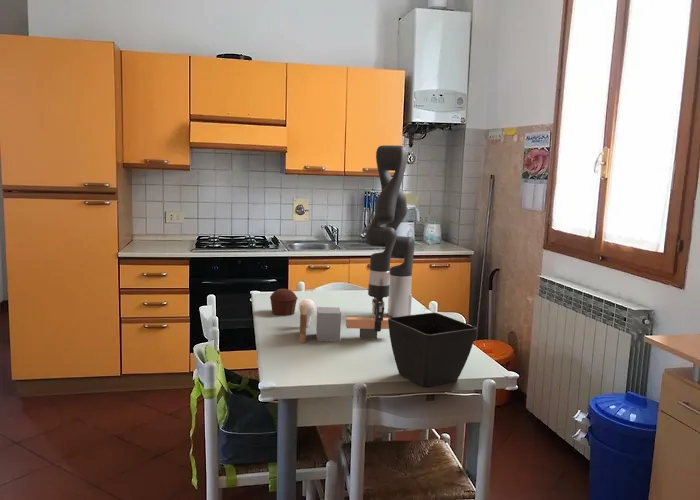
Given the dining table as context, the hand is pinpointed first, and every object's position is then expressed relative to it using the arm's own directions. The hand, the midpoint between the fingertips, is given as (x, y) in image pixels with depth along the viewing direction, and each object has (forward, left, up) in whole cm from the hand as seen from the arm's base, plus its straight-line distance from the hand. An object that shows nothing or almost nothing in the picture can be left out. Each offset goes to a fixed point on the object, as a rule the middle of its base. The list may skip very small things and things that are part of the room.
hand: (376, 329), depth 212 cm
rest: (+3, 0, -3) cm, 4 cm away
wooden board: (+27, 0, -3) cm, 27 cm away
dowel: (+3, 0, +1) cm, 3 cm away
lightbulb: (+25, -13, -3) cm, 28 cm away
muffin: (+34, -34, -3) cm, 48 cm away
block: (+18, 0, -3) cm, 18 cm away
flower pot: (-10, +40, -3) cm, 41 cm away
